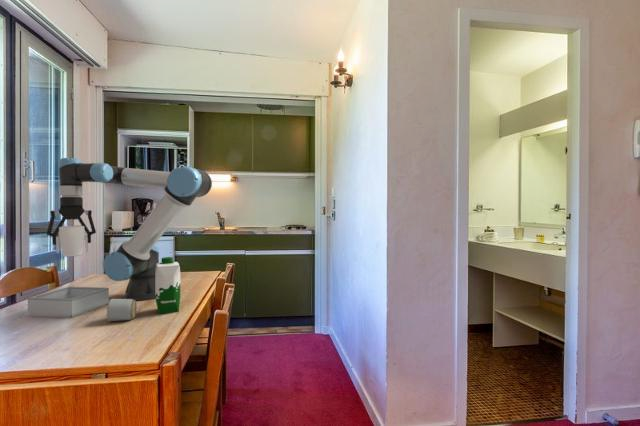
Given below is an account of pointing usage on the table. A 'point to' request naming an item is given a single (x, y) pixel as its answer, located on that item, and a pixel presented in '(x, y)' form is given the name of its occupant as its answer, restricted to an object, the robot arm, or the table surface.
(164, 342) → the table surface
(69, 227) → the cup
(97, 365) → the table surface
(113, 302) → the grey cylinder
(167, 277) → the milk carton
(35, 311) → the crate
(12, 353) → the table surface
